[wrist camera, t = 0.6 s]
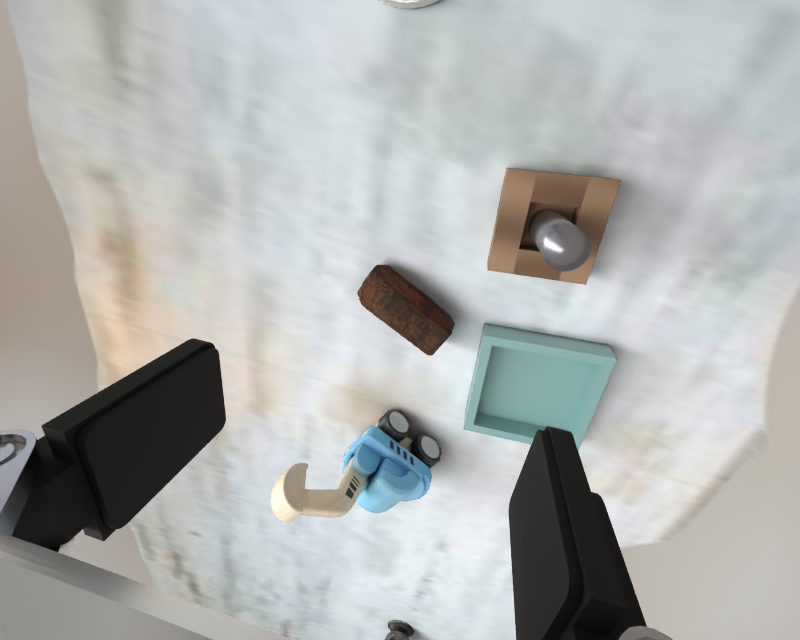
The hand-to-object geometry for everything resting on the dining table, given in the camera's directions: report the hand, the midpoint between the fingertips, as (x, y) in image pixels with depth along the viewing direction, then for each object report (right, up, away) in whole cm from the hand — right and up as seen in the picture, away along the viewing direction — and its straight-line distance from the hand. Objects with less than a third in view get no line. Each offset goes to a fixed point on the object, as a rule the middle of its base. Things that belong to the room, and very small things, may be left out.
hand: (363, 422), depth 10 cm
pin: (+15, +12, +23) cm, 30 cm away
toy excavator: (-1, -12, +39) cm, 41 cm away
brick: (+2, +5, +31) cm, 31 cm away
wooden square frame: (+15, +12, +24) cm, 31 cm away
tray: (+16, -4, +31) cm, 35 cm away
